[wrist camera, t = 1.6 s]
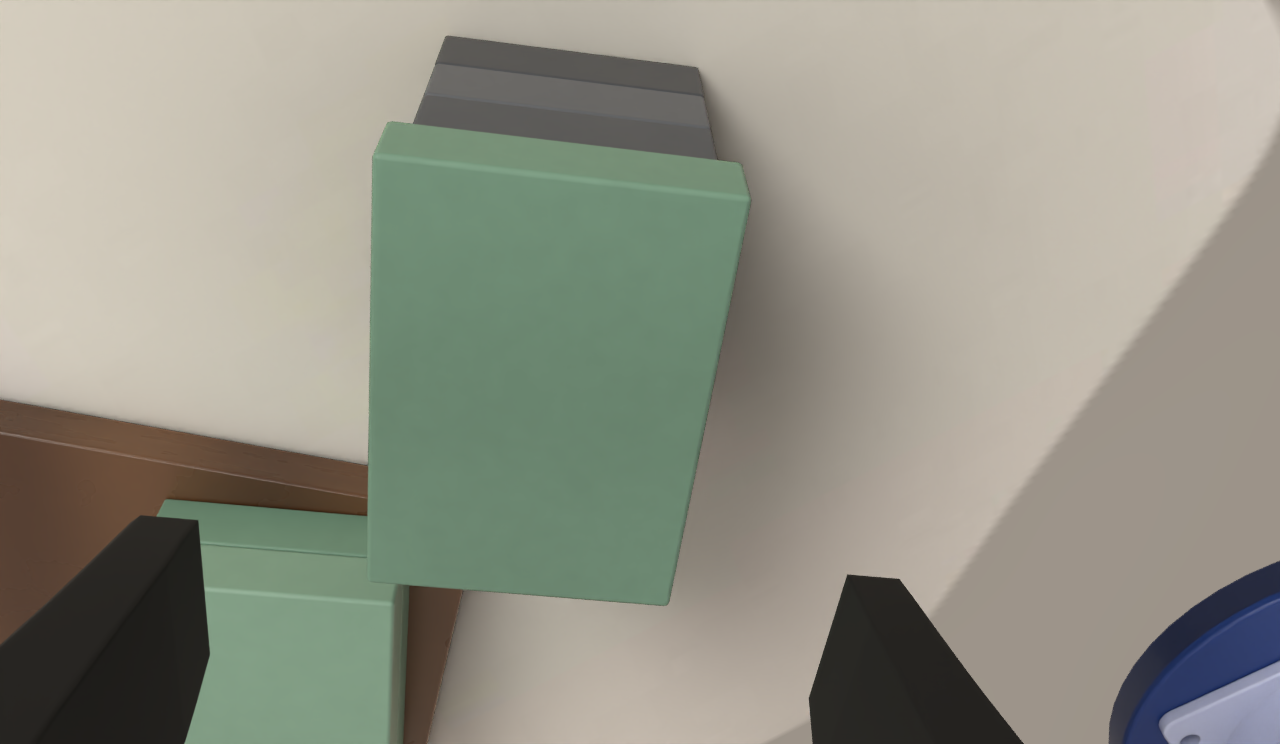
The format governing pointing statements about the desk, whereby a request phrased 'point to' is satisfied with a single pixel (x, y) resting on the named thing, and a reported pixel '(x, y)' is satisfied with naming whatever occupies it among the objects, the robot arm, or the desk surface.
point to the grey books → (567, 98)
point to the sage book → (541, 359)
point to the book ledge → (138, 485)
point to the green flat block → (295, 630)
